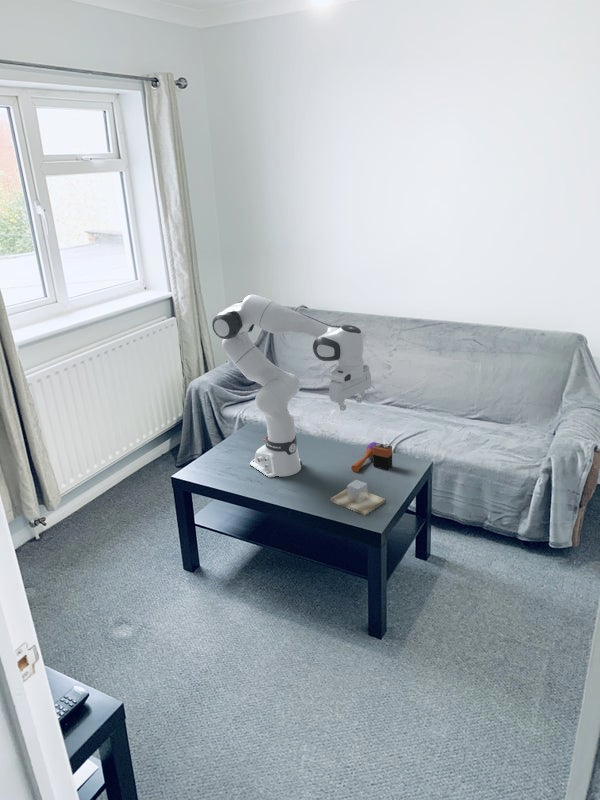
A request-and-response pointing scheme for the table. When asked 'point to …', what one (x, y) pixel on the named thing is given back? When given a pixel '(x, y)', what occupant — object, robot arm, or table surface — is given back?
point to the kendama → (369, 454)
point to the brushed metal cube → (357, 491)
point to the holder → (361, 508)
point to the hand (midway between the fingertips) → (351, 406)
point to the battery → (382, 456)
